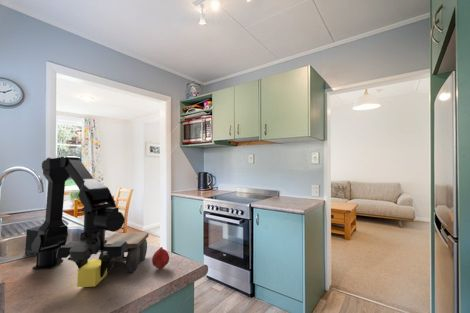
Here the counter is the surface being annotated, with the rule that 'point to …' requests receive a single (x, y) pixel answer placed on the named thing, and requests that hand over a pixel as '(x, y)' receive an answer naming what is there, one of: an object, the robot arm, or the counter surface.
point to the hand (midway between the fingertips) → (93, 276)
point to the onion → (160, 258)
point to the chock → (90, 274)
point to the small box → (31, 240)
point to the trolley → (129, 249)
